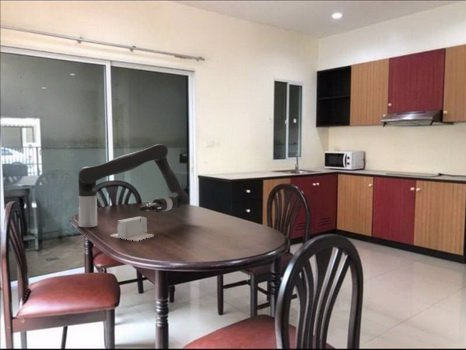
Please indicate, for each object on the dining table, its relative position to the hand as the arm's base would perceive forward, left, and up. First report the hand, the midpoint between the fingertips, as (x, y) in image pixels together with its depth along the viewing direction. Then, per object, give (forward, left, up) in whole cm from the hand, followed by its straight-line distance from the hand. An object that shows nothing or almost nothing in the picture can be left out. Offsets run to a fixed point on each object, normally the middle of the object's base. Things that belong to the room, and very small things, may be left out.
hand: (140, 209), depth 193 cm
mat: (0, -6, -13) cm, 14 cm away
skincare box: (0, +2, -8) cm, 8 cm away
